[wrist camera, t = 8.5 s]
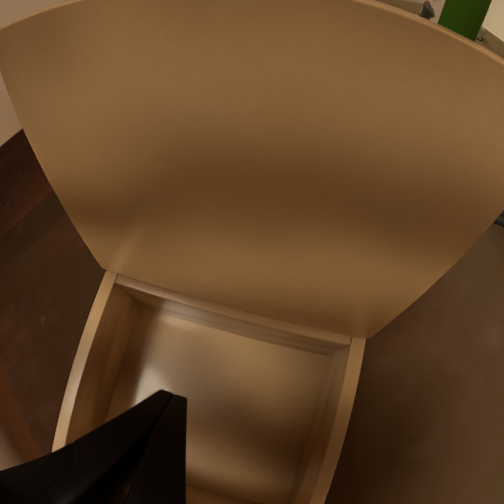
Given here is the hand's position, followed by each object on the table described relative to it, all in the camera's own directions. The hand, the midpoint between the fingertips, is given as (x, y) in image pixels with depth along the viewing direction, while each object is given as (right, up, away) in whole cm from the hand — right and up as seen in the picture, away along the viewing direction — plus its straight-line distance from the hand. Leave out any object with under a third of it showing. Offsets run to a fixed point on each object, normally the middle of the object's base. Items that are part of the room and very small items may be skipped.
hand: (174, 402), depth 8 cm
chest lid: (+1, +5, +1) cm, 6 cm away
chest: (-1, -6, +10) cm, 12 cm away
